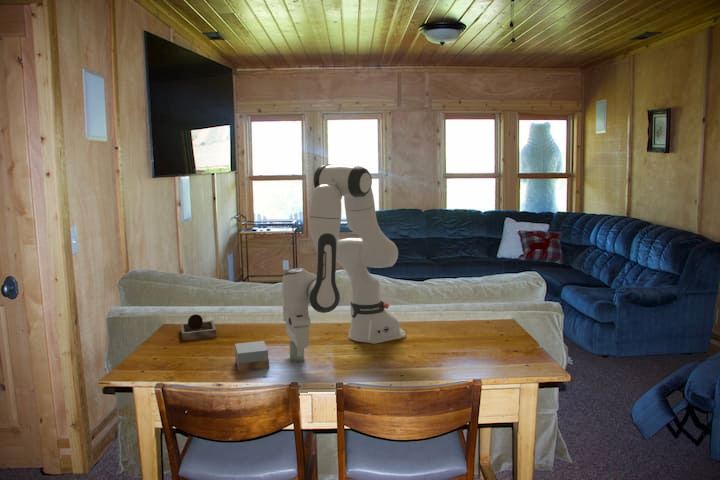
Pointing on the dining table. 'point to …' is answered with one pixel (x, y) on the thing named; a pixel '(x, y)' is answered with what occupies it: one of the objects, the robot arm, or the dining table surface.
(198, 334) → the wooden frame
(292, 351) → the sage green rounded oval
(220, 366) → the dining table surface
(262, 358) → the grey slab
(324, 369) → the dining table surface
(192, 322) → the compass
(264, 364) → the walnut slab
